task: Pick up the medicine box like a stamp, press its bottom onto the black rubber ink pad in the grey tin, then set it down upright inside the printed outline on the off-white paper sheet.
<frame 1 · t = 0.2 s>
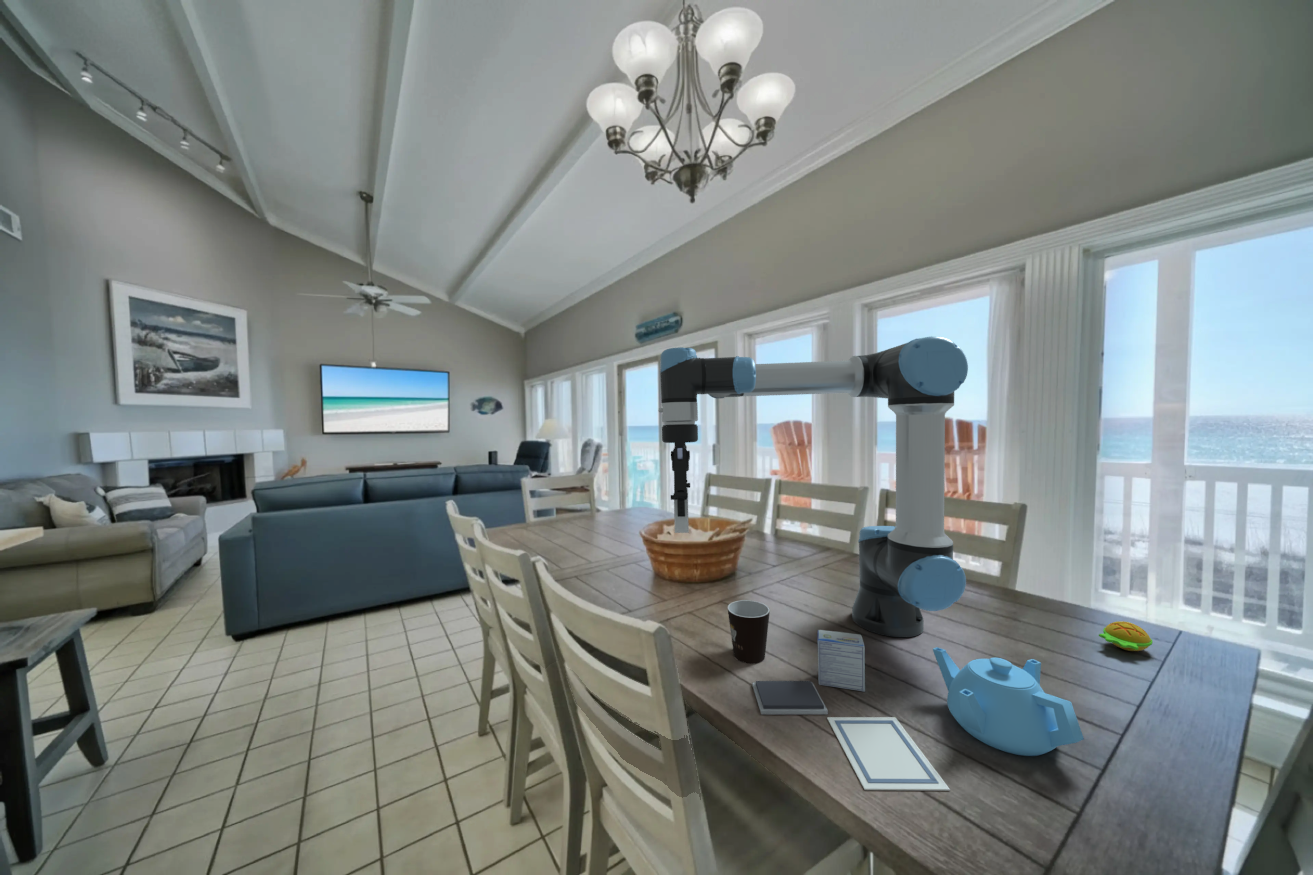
hand: (682, 524, 92), 28 cm above the table, fingers open, 13 cm apart
coffee mug: (749, 652, 93), on the table
print sheet: (881, 750, 64), on the table
ink pad: (788, 699, 77), on the table
toy burger: (1124, 650, 90), on the table
medicine box: (840, 683, 81), on the table
teapot: (999, 728, 69), on the table
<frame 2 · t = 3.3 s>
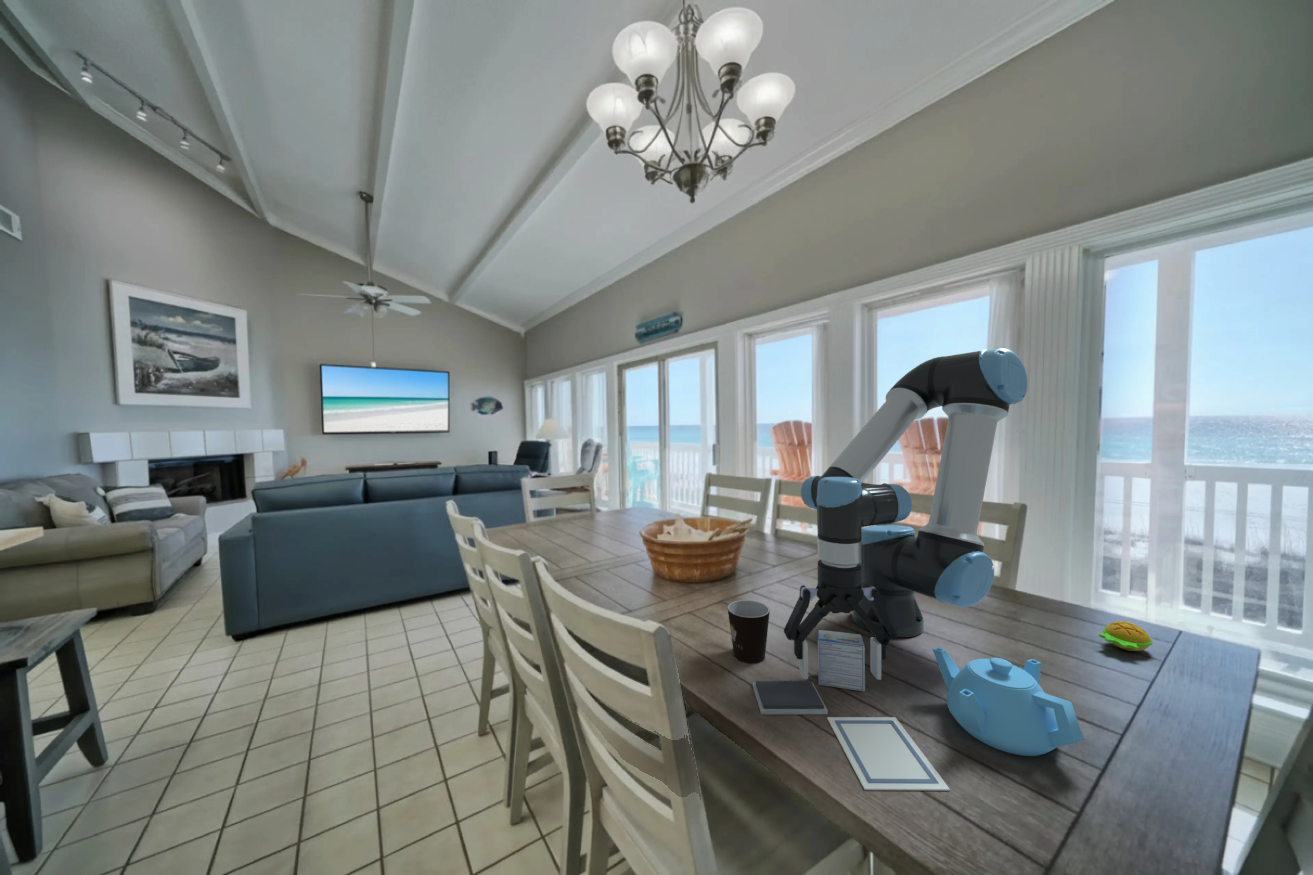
hand: (839, 675, 81), 1 cm above the table, fingers open, 13 cm apart
nothing on the table moved.
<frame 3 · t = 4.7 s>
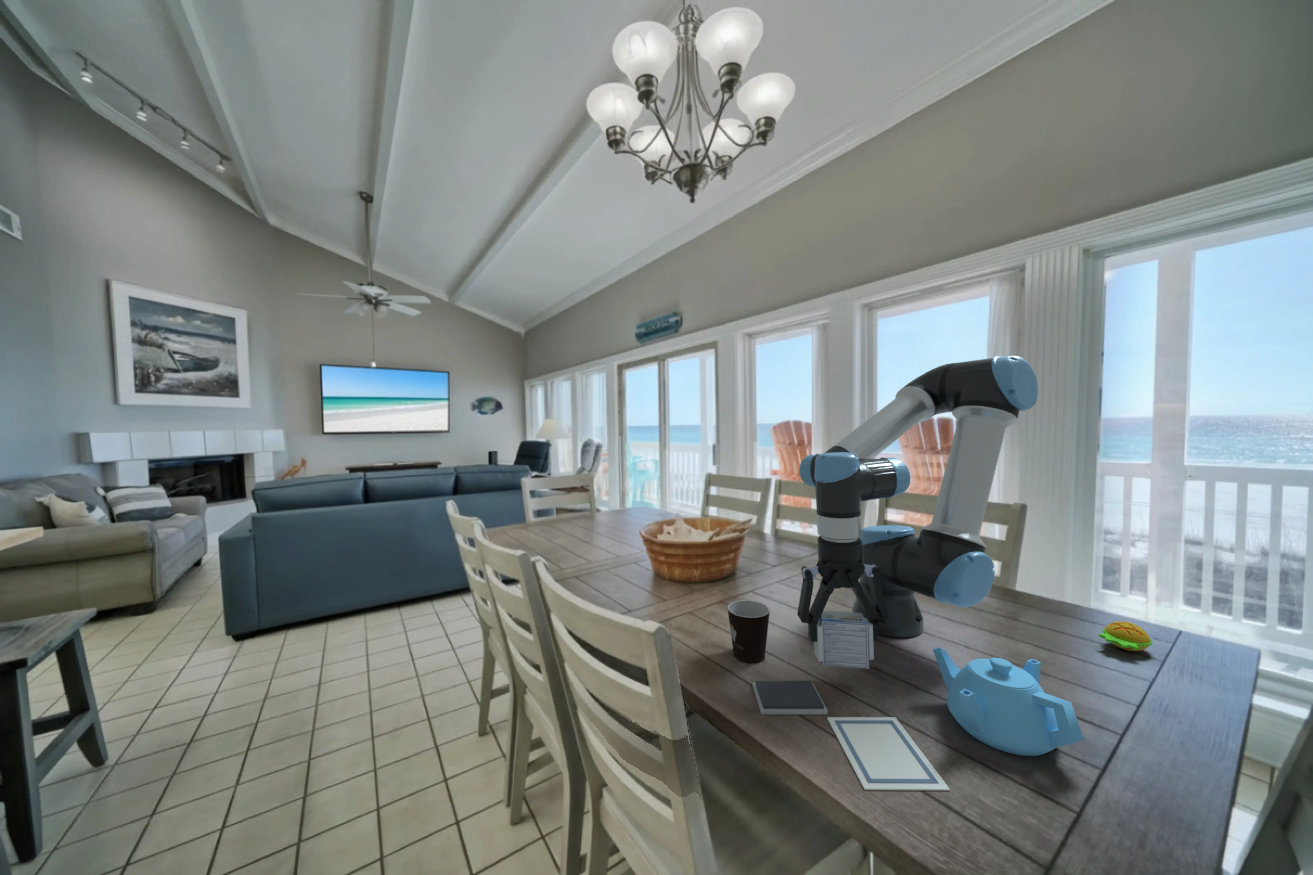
hand: (843, 656, 82), 5 cm above the table, fingers closed on medicine box, 8 cm apart
medicine box: (843, 662, 81), point 4 cm above the table, touching gripper
everything else where it was.
when the fingers open (2 cm above the table, at t = 8.4 s): medicine box stays where it is, resting on ink pad.
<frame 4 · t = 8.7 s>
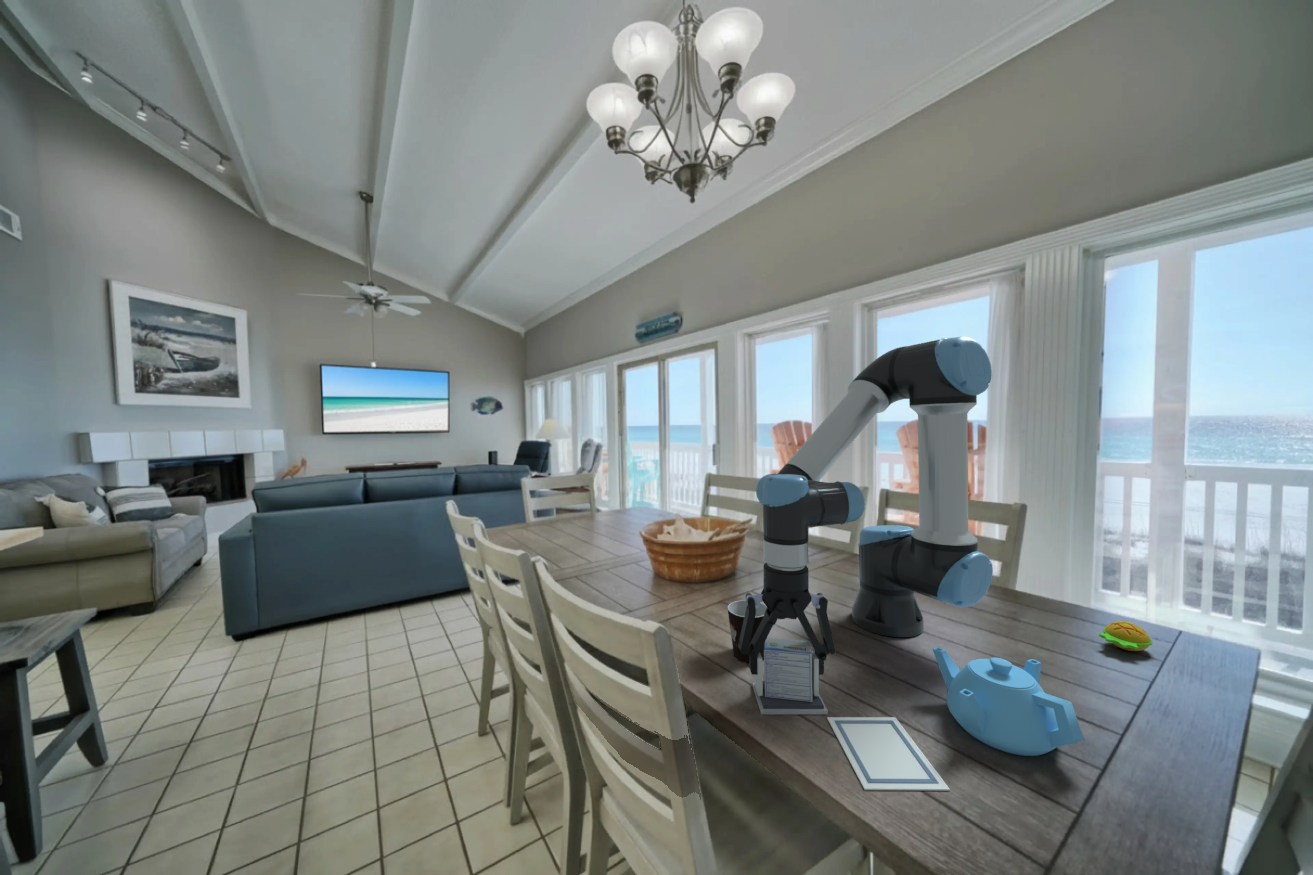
hand: (786, 691, 77), 1 cm above the table, fingers open, 9 cm apart
medicine box: (787, 694, 77), point 1 cm above the table, touching ink pad
everything else where it was.
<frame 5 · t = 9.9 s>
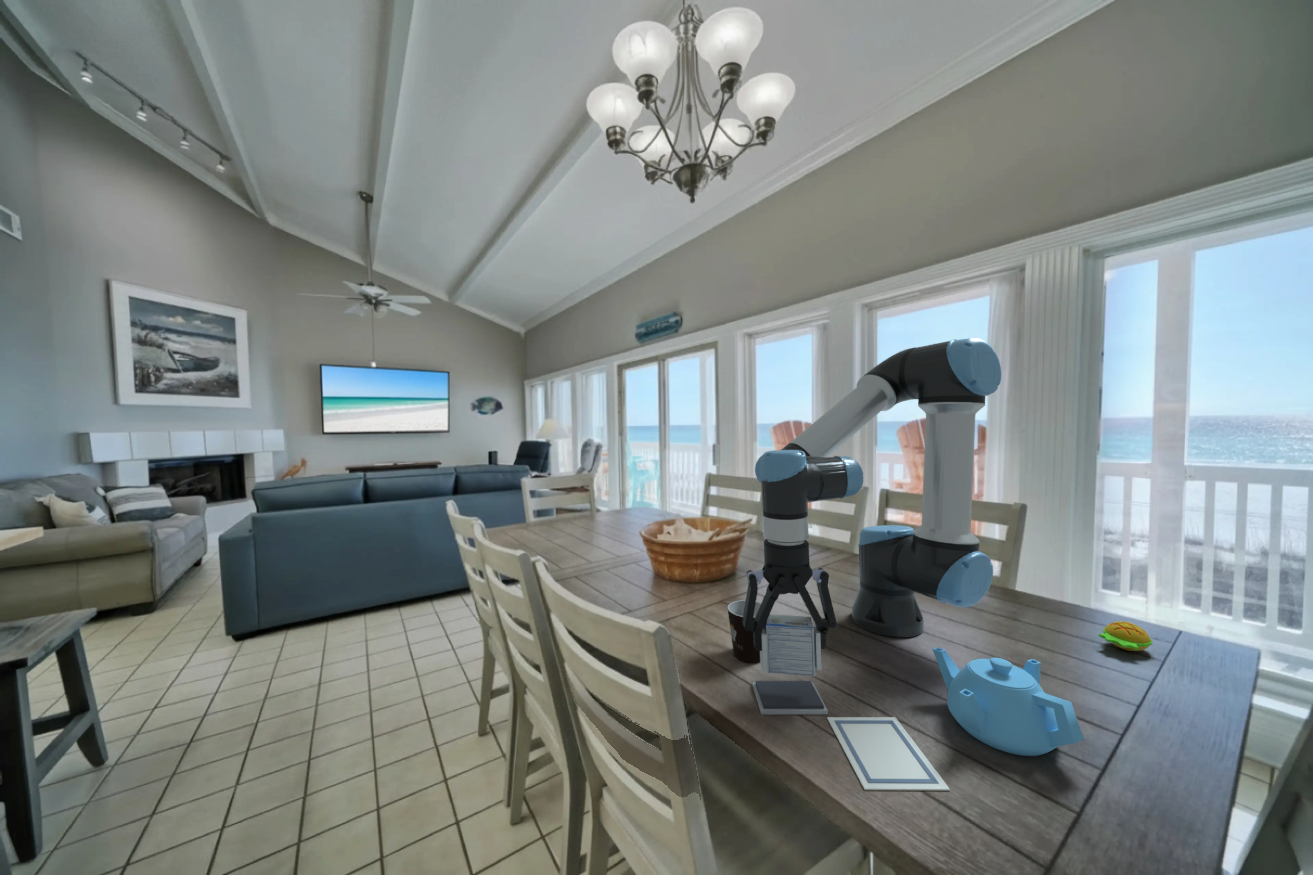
hand: (790, 666, 77), 6 cm above the table, fingers closed on medicine box, 8 cm apart
medicine box: (790, 669, 77), point 5 cm above the table, touching gripper
everything else where it was.
when the fingers open (1 cm above the table, at t = 14.5 s): medicine box stays where it is, resting on print sheet.
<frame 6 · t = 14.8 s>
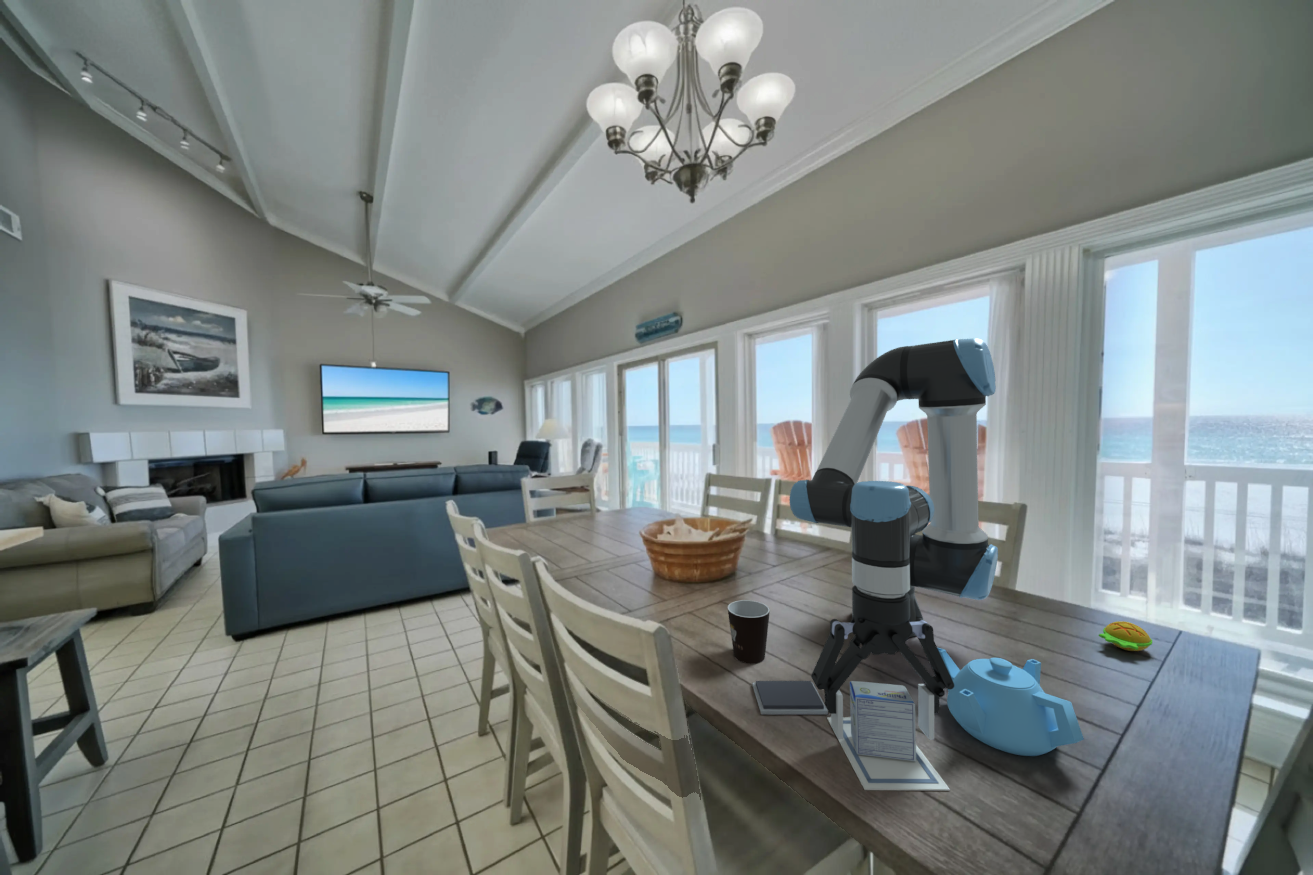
hand: (881, 732, 64), 3 cm above the table, fingers open, 12 cm apart
medicine box: (882, 749, 64), resting on print sheet
everything else where it was.
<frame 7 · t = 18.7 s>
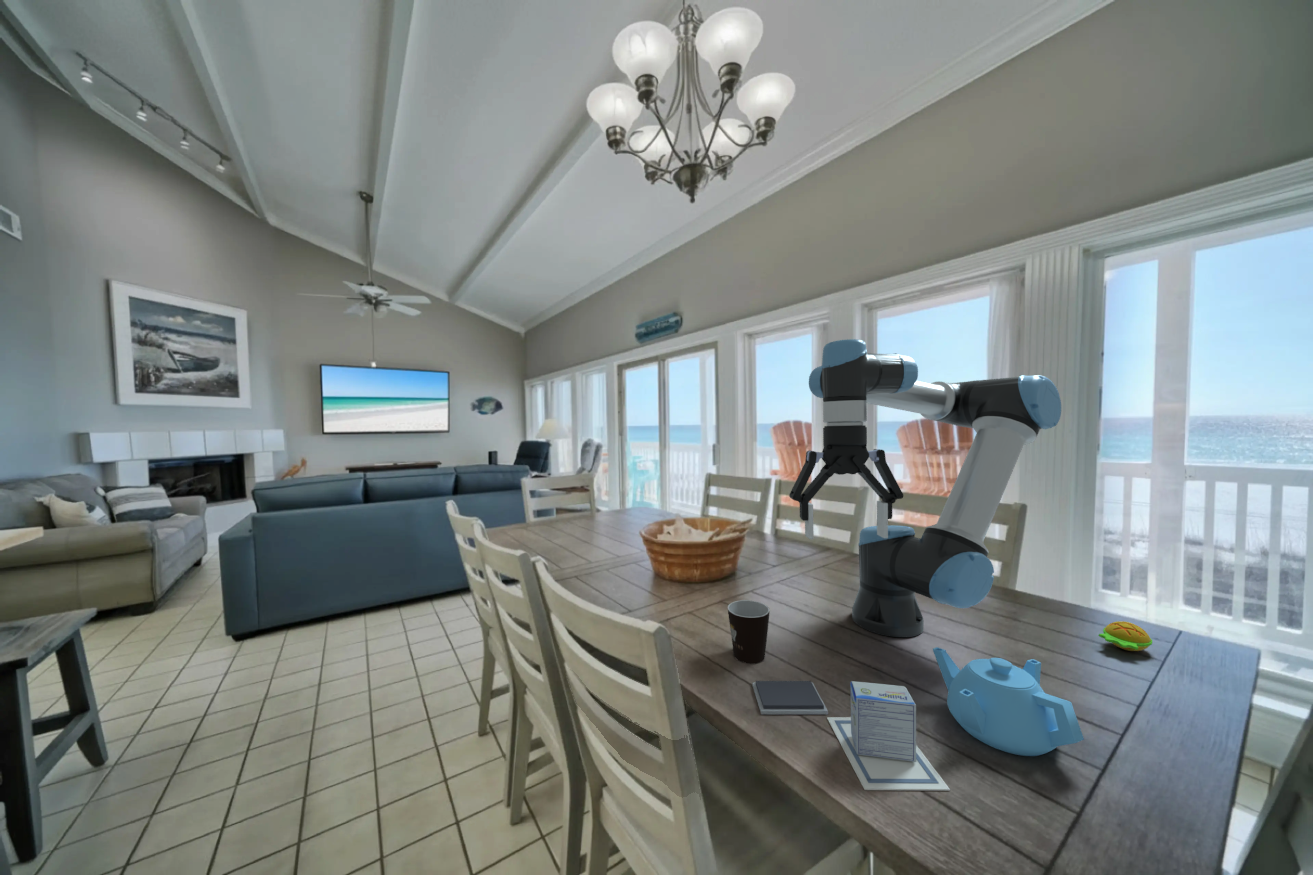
hand: (845, 537, 82), 27 cm above the table, fingers open, 13 cm apart
nothing on the table moved.
at the end: medicine box inside the target area on the print sheet (0.1 cm from its centre), point 0.1 cm above the print sheet's base; medicine box tilted 0°; the gripper is holding nothing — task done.
